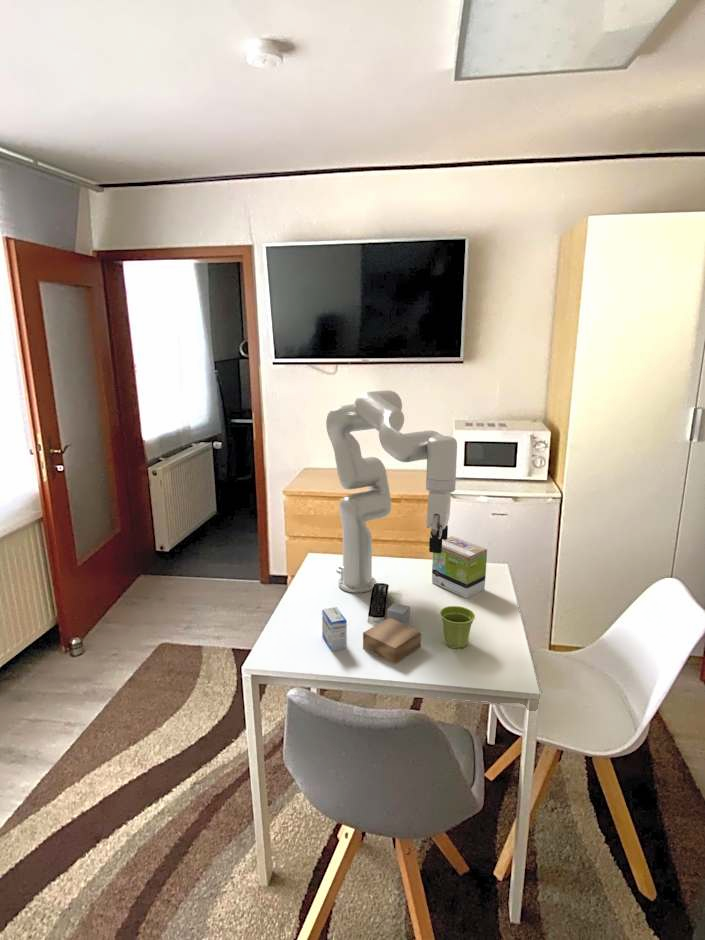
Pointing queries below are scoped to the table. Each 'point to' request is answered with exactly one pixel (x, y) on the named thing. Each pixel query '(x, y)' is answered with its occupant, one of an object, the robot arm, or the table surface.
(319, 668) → the table surface
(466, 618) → the plant pot
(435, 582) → the tea box
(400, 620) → the grey cube
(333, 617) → the medicine box
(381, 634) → the walnut block
